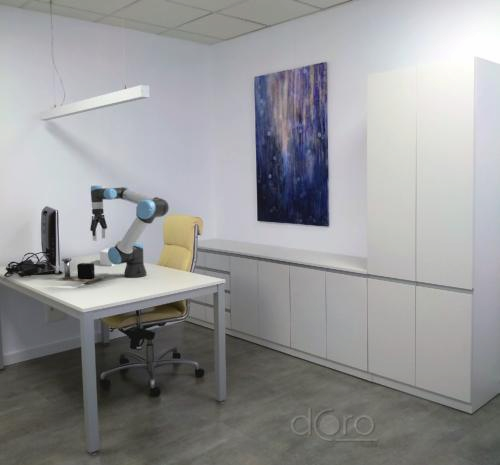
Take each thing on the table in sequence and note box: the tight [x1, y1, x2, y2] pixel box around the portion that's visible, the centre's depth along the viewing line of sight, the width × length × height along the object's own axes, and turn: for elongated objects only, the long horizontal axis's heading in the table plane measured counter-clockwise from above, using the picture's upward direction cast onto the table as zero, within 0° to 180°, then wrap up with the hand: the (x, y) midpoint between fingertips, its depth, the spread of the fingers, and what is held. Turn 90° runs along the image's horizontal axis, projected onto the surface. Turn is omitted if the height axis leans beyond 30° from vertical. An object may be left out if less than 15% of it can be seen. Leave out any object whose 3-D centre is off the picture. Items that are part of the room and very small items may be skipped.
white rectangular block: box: [99, 248, 116, 267], centre depth 423 cm, size 14×29×10 cm, turn 20°
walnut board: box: [56, 275, 104, 285], centre depth 357 cm, size 27×15×2 cm, turn 74°
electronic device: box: [76, 262, 96, 280], centre depth 354 cm, size 4×10×10 cm, turn 78°
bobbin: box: [61, 257, 73, 279], centre depth 358 cm, size 6×6×13 cm
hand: (99, 239), depth 368 cm, fingers open, 13 cm apart
